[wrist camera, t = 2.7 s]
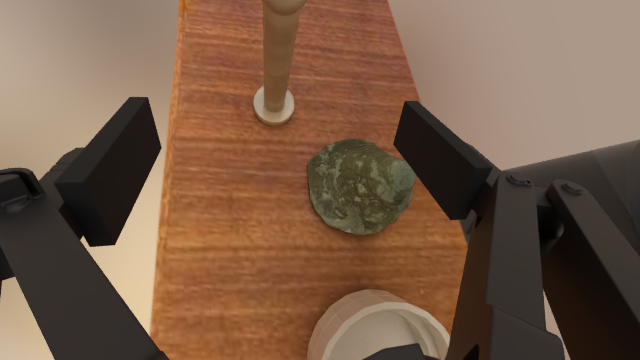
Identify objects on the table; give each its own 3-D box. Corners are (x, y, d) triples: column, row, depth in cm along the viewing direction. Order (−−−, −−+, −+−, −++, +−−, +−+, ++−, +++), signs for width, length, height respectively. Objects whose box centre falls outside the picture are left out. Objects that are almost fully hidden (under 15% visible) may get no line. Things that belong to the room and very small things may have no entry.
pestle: (300, 116, 33) (343, -12, 15) (265, 132, 32) (267, 16, 14) (281, 82, 33) (302, -84, 15) (246, 98, 32) (223, -61, 14)
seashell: (292, 157, 30) (381, 127, 25) (325, 144, 36) (403, 118, 31) (325, 246, 31) (417, 236, 26) (352, 219, 38) (430, 207, 32)
